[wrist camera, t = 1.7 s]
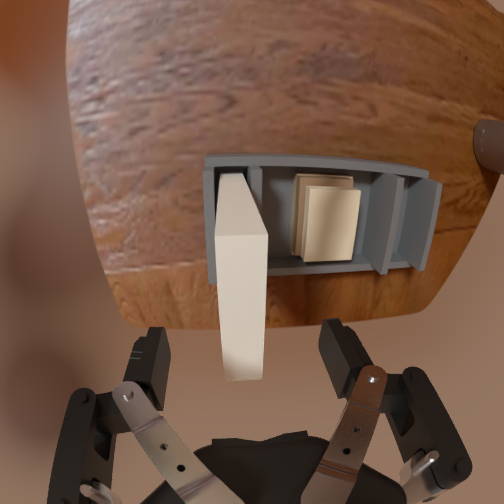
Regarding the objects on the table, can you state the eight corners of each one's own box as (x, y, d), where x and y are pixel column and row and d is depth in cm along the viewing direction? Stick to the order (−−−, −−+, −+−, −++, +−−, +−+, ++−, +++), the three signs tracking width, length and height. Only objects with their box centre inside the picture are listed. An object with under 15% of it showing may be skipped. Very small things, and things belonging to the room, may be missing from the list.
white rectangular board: (241, 171, 31) (268, 234, 12) (242, 251, 35) (261, 378, 17) (220, 171, 30) (214, 236, 12) (222, 251, 34) (225, 381, 16)
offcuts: (347, 174, 32) (364, 181, 28) (339, 248, 36) (352, 263, 32) (293, 171, 31) (304, 178, 27) (289, 249, 35) (297, 265, 31)
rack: (412, 165, 33) (443, 175, 26) (397, 255, 39) (421, 277, 32) (207, 154, 30) (202, 160, 24) (211, 262, 36) (209, 292, 30)
